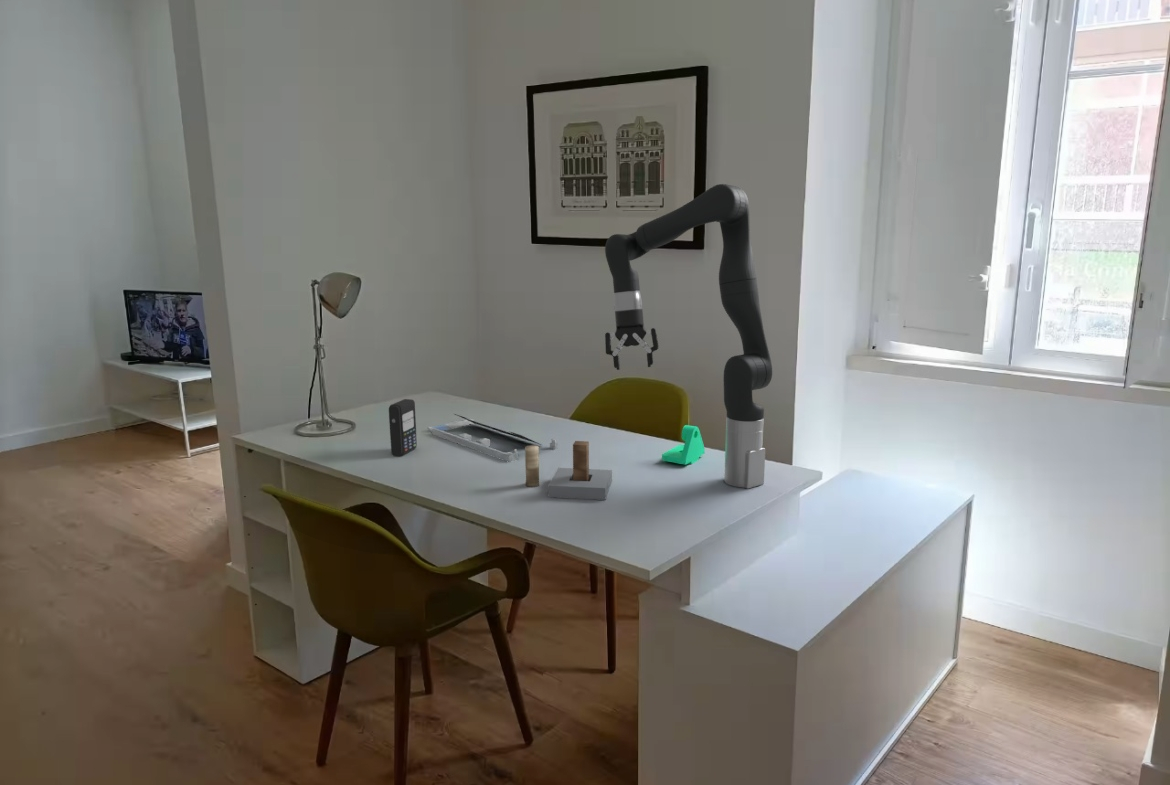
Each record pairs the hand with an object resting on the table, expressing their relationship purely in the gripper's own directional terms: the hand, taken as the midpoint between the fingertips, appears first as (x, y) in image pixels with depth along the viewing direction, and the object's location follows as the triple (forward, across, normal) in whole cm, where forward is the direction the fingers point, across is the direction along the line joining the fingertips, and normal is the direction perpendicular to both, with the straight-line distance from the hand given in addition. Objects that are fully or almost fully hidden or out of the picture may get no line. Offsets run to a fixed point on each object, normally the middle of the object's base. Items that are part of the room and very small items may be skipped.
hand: (633, 368), depth 226 cm
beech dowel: (+26, +26, +21) cm, 43 cm away
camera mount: (+27, -11, -6) cm, 30 cm away
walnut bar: (+28, +14, +22) cm, 38 cm away
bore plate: (+28, +14, +22) cm, 38 cm away
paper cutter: (+20, +48, -17) cm, 55 cm away
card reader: (+19, +68, 0) cm, 71 cm away
